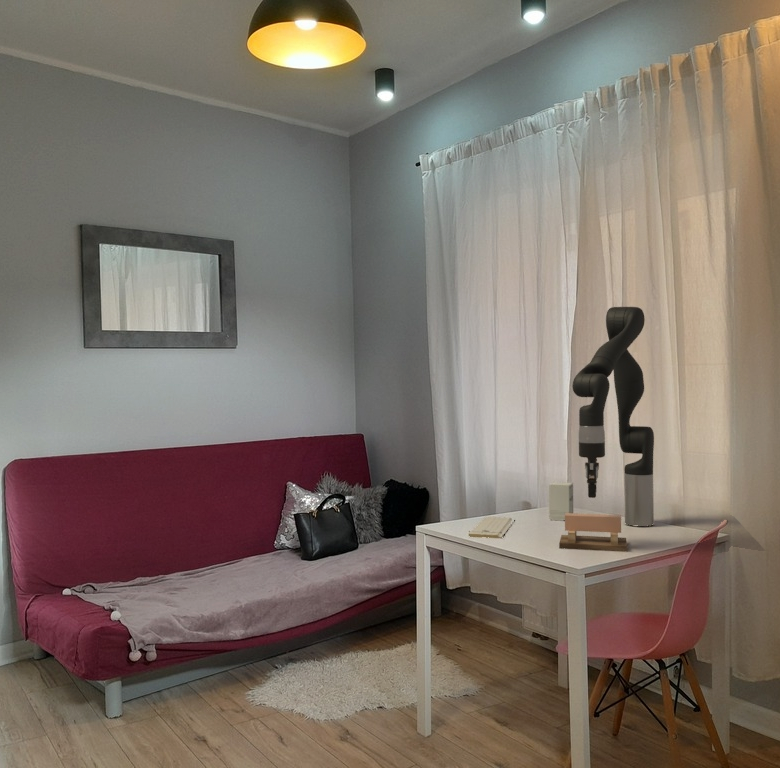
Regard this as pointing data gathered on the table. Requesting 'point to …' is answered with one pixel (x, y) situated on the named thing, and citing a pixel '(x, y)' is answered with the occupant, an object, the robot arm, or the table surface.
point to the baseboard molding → (491, 527)
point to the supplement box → (560, 500)
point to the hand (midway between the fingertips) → (592, 495)
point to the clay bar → (592, 522)
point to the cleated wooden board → (593, 542)
